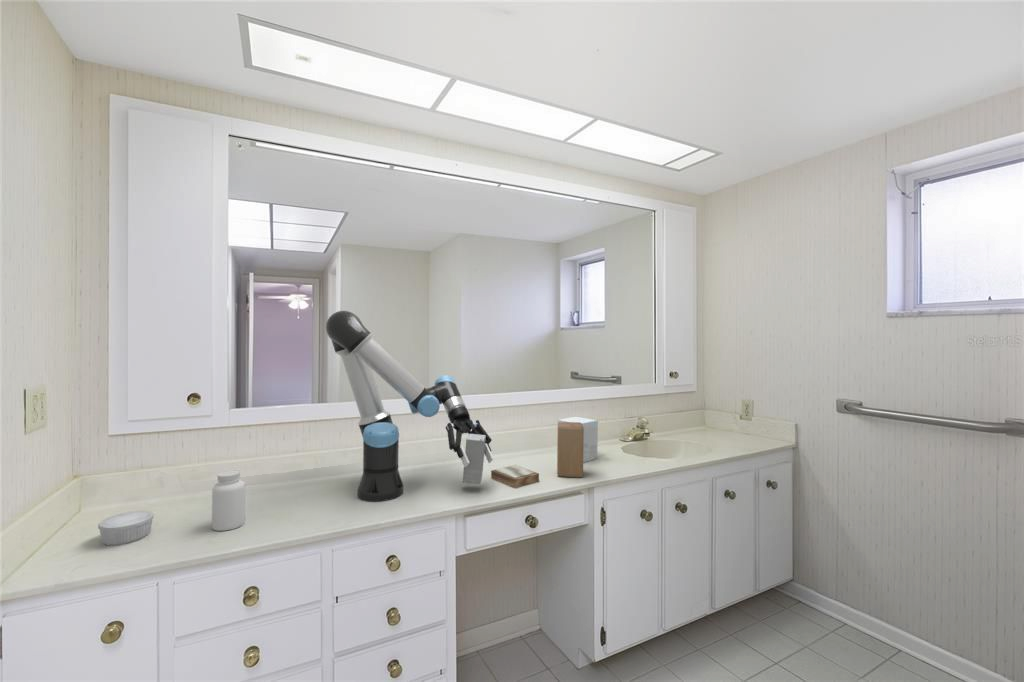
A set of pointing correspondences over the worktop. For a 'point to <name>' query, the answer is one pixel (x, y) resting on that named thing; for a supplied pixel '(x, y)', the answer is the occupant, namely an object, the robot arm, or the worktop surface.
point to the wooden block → (570, 449)
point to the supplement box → (587, 436)
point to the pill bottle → (228, 501)
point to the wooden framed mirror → (514, 476)
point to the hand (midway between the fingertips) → (479, 462)
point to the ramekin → (125, 527)
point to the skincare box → (474, 458)
